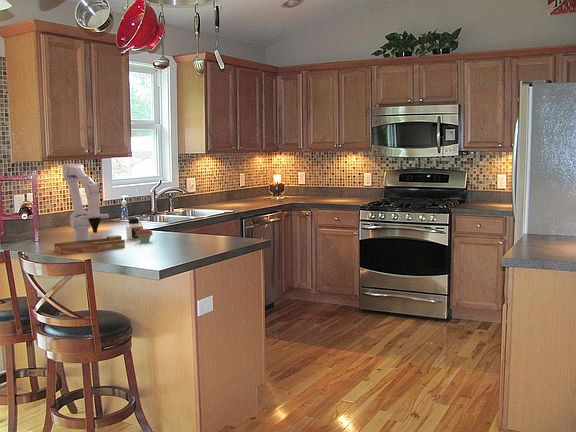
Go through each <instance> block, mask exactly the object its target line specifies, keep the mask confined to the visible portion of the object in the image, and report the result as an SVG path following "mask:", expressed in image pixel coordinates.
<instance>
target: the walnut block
mask: <svg viewBox="0 0 576 432" xmlns="http://www.w3.org/2000/svg"><path fill="white" fill-rule="evenodd" d="M106 238H107V241H115V240H123V239H122V238H123V237H122V235H119V234H115V235H107V236H106Z"/></svg>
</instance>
